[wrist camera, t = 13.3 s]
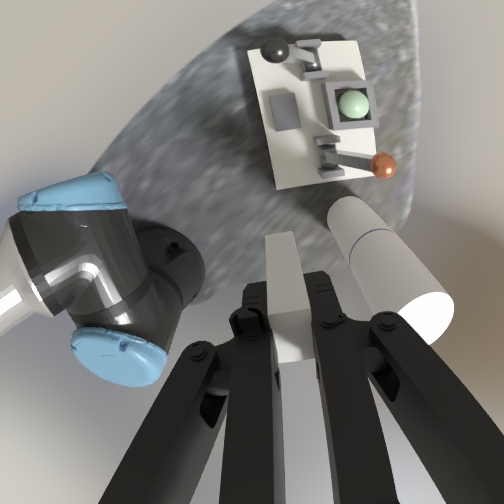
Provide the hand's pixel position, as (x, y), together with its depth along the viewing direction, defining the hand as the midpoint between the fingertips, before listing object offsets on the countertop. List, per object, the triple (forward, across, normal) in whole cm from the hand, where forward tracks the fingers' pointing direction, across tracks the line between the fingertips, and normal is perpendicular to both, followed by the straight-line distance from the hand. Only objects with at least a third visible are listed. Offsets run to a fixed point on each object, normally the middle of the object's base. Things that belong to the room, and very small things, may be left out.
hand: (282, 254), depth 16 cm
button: (+24, +12, +7) cm, 28 cm away
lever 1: (+23, +9, +14) cm, 29 cm away
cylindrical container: (+27, +11, -10) cm, 30 cm away
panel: (+26, +8, +7) cm, 28 cm away
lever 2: (+24, +8, +1) cm, 25 cm away
